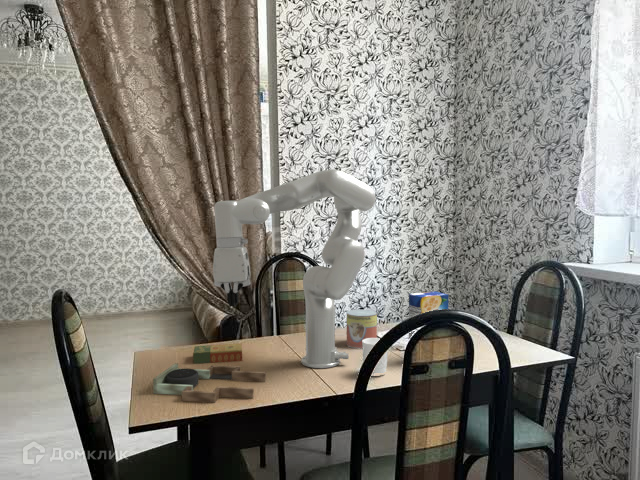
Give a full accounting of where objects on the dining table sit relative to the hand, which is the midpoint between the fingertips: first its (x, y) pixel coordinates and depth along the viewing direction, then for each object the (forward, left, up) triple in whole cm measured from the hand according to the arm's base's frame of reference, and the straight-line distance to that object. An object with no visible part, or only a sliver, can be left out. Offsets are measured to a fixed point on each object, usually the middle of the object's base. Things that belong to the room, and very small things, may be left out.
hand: (233, 305), depth 147 cm
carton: (+12, -19, -23) cm, 32 cm away
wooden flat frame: (+5, +7, -22) cm, 24 cm away
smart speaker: (+13, +7, -23) cm, 27 cm away
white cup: (-41, -11, -22) cm, 48 cm away
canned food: (-35, -43, -22) cm, 60 cm away
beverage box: (-58, -27, -22) cm, 68 cm away
